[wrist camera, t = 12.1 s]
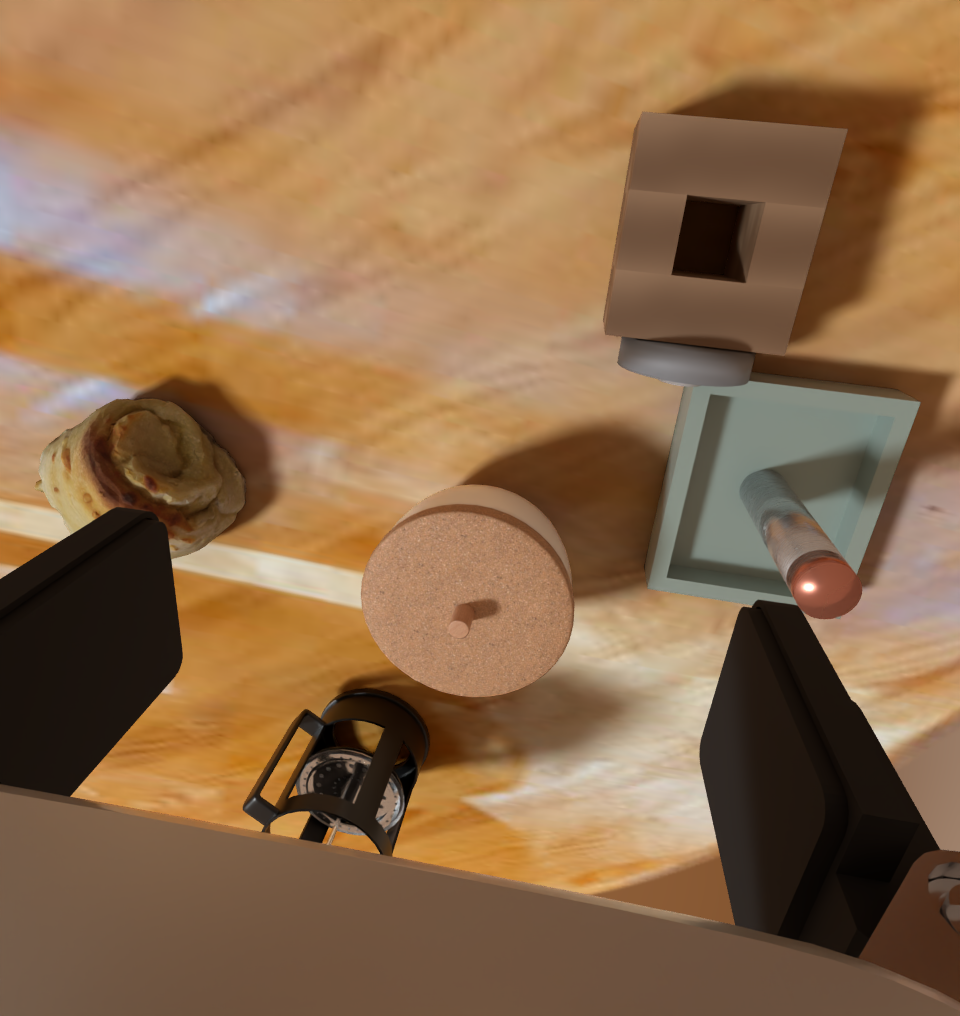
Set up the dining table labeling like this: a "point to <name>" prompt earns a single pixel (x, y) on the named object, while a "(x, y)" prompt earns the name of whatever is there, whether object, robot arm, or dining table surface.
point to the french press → (349, 771)
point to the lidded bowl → (471, 592)
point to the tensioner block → (753, 250)
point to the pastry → (144, 472)
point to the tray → (779, 447)
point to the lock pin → (800, 547)
